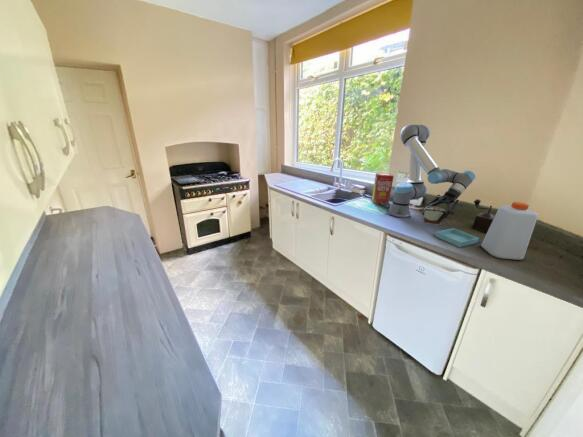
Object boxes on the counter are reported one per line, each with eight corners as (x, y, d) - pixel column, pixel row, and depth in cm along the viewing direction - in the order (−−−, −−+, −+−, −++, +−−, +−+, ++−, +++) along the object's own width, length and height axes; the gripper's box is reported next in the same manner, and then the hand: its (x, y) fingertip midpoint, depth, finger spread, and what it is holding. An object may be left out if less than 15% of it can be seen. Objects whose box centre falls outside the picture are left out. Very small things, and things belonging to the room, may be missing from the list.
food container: (440, 221, 153) (444, 207, 149) (442, 225, 148) (446, 210, 144) (419, 219, 157) (422, 204, 153) (420, 222, 151) (424, 207, 148)
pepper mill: (494, 229, 157) (504, 203, 150) (490, 233, 150) (500, 207, 143) (467, 222, 168) (475, 198, 161) (462, 226, 161) (470, 201, 154)
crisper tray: (434, 236, 144) (435, 231, 143) (452, 232, 151) (453, 228, 149) (459, 247, 132) (461, 242, 130) (477, 242, 138) (479, 238, 136)
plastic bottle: (527, 262, 119) (551, 209, 108) (494, 258, 121) (514, 207, 110) (506, 247, 132) (526, 200, 122) (477, 245, 135) (494, 198, 124)
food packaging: (372, 203, 204) (377, 174, 195) (371, 200, 213) (375, 172, 203) (388, 204, 202) (394, 175, 193) (386, 201, 211) (391, 173, 202)
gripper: (474, 200, 141) (450, 227, 141) (439, 191, 160) (418, 215, 160) (471, 192, 137) (446, 220, 137) (436, 184, 156) (414, 208, 156)
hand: (431, 217), depth 149 cm, fingers closed on food container, 10 cm apart
